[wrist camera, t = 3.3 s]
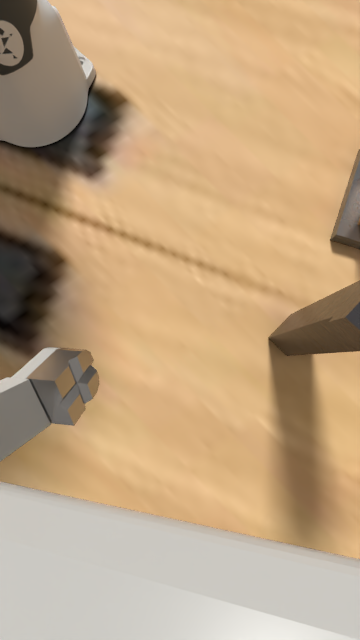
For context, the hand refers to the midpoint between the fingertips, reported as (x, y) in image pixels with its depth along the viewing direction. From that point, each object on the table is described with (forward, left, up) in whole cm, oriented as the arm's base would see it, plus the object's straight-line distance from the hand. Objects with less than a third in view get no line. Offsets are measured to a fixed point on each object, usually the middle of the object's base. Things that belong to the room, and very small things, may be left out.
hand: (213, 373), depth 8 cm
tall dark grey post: (+3, +11, -25) cm, 28 cm away
